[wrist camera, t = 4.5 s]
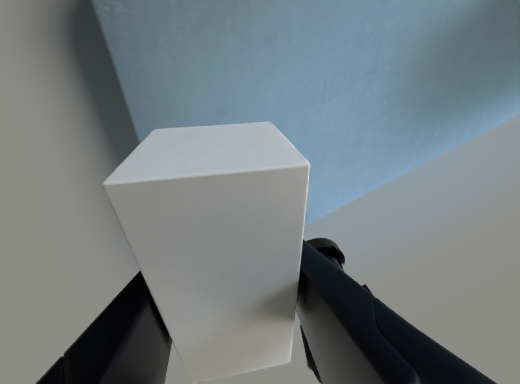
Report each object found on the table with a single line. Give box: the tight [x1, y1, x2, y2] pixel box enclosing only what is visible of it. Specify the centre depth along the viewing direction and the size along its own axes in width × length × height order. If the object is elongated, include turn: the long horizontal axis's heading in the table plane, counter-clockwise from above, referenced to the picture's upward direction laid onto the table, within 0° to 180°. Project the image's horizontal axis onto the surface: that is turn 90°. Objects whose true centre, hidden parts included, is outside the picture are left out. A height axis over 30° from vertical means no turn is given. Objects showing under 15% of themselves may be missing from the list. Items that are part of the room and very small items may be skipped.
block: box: [103, 122, 310, 384], centre depth 7 cm, size 8×4×4 cm, turn 1°
